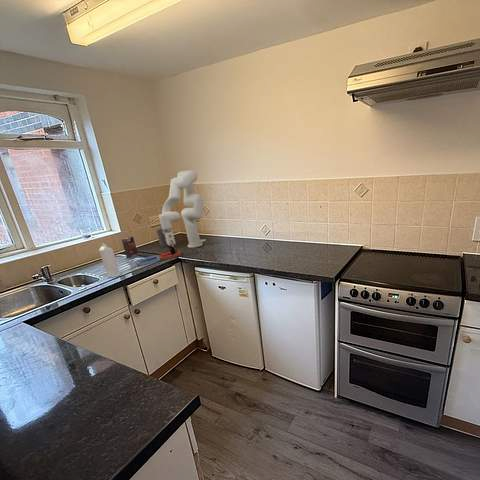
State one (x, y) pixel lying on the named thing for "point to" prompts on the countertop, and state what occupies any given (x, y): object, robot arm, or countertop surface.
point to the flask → (161, 238)
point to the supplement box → (130, 247)
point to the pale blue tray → (148, 261)
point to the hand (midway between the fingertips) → (173, 253)
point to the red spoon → (167, 254)
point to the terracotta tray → (169, 256)
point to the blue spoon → (148, 259)
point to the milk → (109, 261)
